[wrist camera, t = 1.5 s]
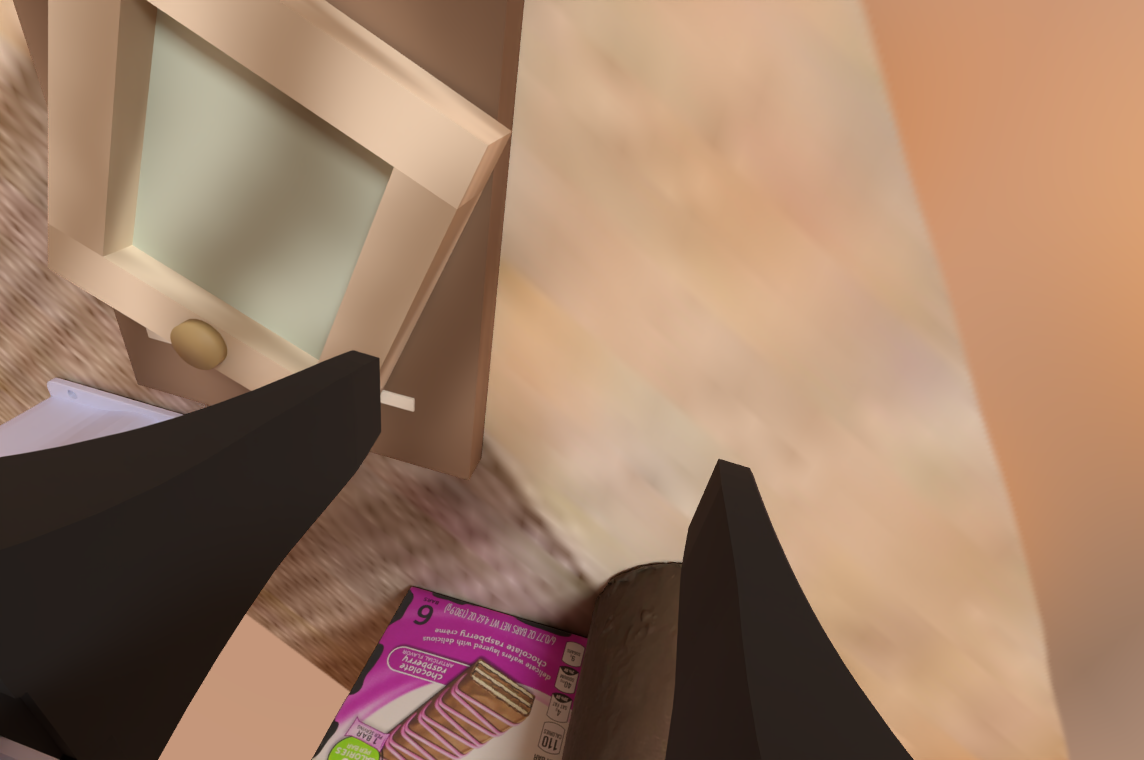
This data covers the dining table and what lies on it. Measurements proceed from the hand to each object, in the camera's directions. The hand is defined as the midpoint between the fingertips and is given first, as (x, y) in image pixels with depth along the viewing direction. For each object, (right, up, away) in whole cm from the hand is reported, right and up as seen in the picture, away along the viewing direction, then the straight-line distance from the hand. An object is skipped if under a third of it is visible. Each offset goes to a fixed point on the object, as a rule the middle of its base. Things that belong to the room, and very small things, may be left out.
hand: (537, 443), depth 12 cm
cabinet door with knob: (-9, +7, +7) cm, 14 cm away
